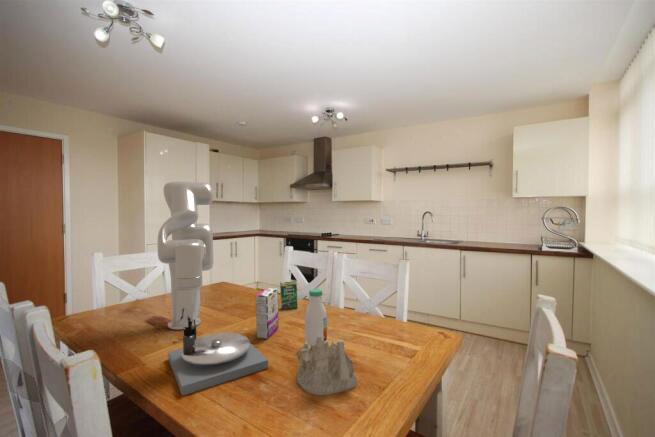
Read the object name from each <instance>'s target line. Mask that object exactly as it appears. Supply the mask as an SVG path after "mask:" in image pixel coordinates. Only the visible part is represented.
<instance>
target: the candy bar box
mask: <svg viewBox="0 0 655 437" xmlns="http://www.w3.org/2000/svg"><path fill="white" fill-rule="evenodd" d="M278 294H279V293H278V288H275V287H272V288H271V287H267V288H265V289H264V290H263V291H261V292H259V293H258V294H256V295H255V307H256V308H255V312H256V316H255V317H256V320H255V321H256V338H257V339H266V340H268V339H269V338H271V336H273V334H274V333H275V332H276V331H277V330H278V329H279V300H278V299H279V298H278V297H279V295H278Z"/></svg>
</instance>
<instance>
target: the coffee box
mask: <svg viewBox="0 0 655 437" xmlns="http://www.w3.org/2000/svg"><path fill="white" fill-rule="evenodd" d="M279 285H280V308H281V310H282V311H283V310H292V309H293V310H294V309H298V288H297V286H298V284H297V280H294V281H293V280H292V281H280V283H279Z"/></svg>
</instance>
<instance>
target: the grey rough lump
mask: <svg viewBox="0 0 655 437" xmlns="http://www.w3.org/2000/svg"><path fill="white" fill-rule="evenodd" d="M344 342H345V341H343V340H342V339H338V340H337V341H336V342H335V341H332V342H331V344H330V345H329V341H328V340H327V341H326V342H324V340H323V339H322V337H321V336H320V335H318V336H317V340H316V344H314V345H311V347H310V346H309V345H308V343H307V342H305V341H304V344H303V347H302V349H300V351H299V353H298V355H297V360H298V362H299V367H298V368H297V372H296V373H297V375H296V380H297V381H296V383H297V384H298V385H299V387H301V388H302V389H303V390H304V391H306V392H307V393H309V394H312V395H316V396H327V395H329V396H330V395H333V394H337V393H342V392H345V391H350V390H352V389H354V388H356V386H357V383H358V381H357V377H356V374H355V367H354V364H355V361H354V360H353V359H351V358H350V357H349V355H348V354H347V352H346V349H345V343H344Z"/></svg>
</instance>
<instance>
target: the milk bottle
mask: <svg viewBox="0 0 655 437" xmlns="http://www.w3.org/2000/svg"><path fill="white" fill-rule="evenodd" d="M308 293H309V294H308V295H309V296H308V297H309V302H308V304H307V306H306V309H305V313H304V343H305V342H307V343H308V345H309V346H310V347H311V345H314V344H316V340H317V336H318V335H320V336H321V337H322V339H323V340H324V342H326V341H328V325H327V324H328V323H327V321H328V318H327V317H328V316H327V310H326V309H327V308H325V305H324V302H323V300H322V297H323V290H322V289H320V288H319V289H318V288H312V289H310V290H309V292H308Z"/></svg>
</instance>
